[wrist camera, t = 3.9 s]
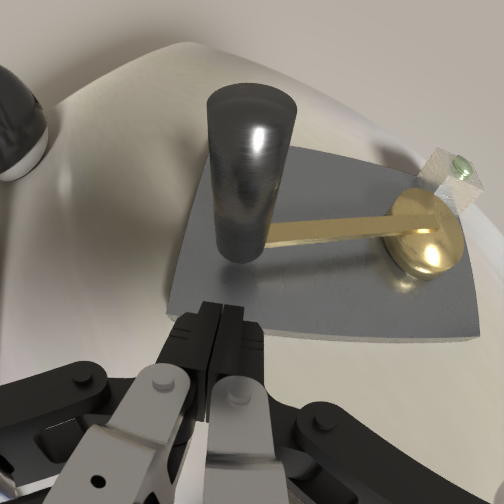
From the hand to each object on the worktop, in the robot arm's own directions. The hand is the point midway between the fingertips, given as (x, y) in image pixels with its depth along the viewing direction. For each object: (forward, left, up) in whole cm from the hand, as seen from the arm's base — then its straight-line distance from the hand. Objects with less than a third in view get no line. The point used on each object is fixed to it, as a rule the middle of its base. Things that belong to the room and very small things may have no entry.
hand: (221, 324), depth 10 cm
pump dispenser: (+28, -15, -9) cm, 33 cm away
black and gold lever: (-8, -8, -6) cm, 13 cm away
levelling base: (-9, -9, -8) cm, 15 cm away
